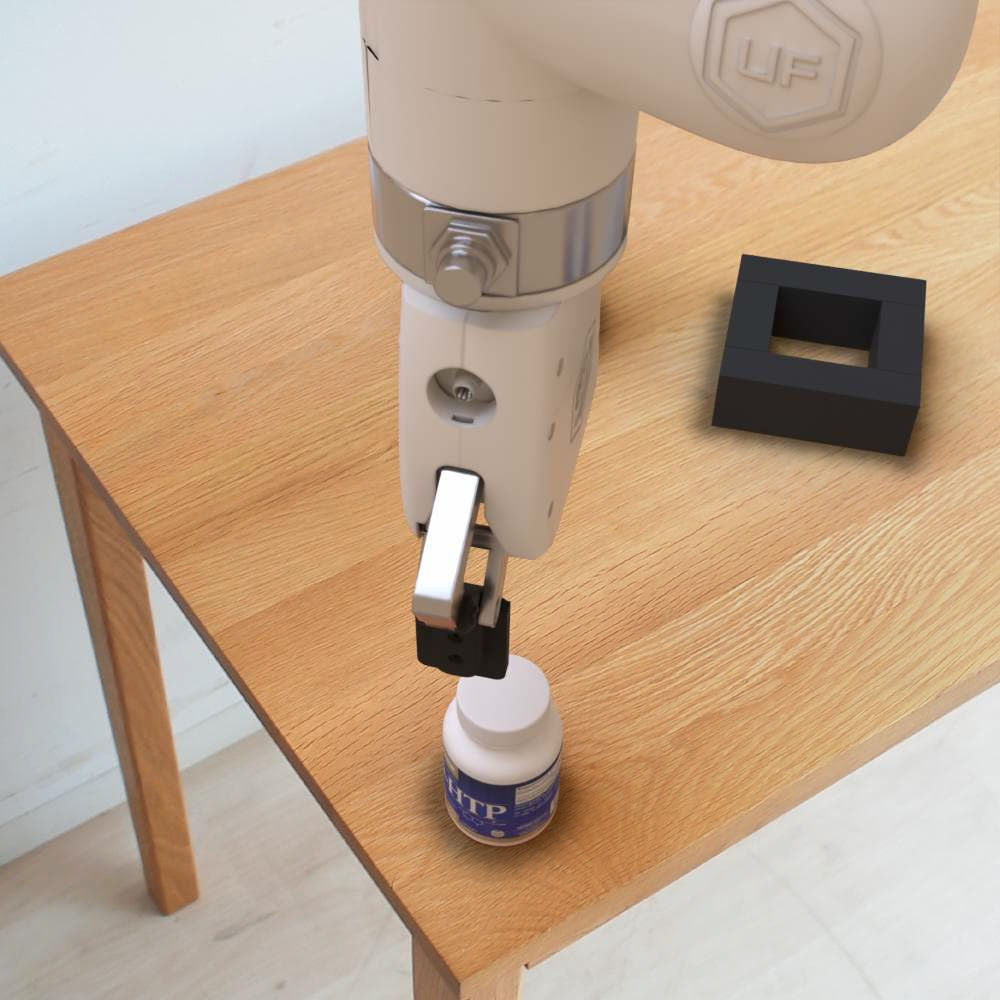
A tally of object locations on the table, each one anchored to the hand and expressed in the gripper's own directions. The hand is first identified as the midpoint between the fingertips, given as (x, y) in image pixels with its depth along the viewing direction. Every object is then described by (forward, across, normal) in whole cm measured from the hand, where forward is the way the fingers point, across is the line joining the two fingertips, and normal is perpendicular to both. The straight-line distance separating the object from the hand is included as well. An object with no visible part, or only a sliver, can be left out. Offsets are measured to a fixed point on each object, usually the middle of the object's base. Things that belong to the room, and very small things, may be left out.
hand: (494, 562), depth 54 cm
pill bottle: (+17, 0, -1) cm, 17 cm away
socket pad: (+17, +32, -12) cm, 38 cm away
